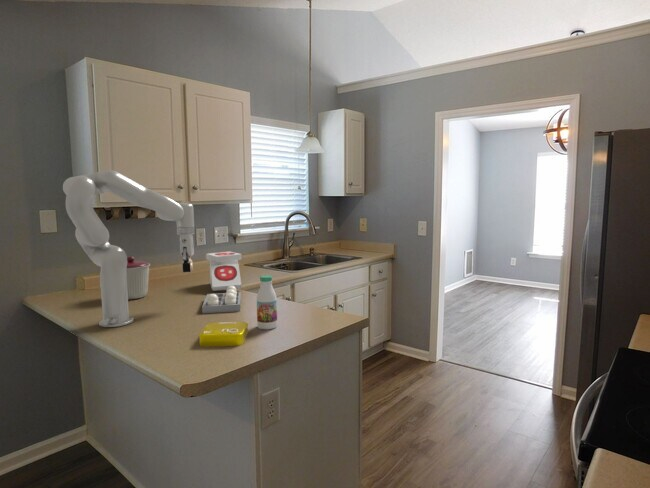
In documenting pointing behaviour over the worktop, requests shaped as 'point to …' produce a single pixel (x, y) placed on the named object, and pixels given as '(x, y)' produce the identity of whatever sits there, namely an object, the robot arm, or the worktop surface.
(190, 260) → the brown egg
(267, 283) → the milk bottle
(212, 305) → the egg carton
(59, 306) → the worktop surface
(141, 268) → the canister
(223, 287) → the pizza boxes
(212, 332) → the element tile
